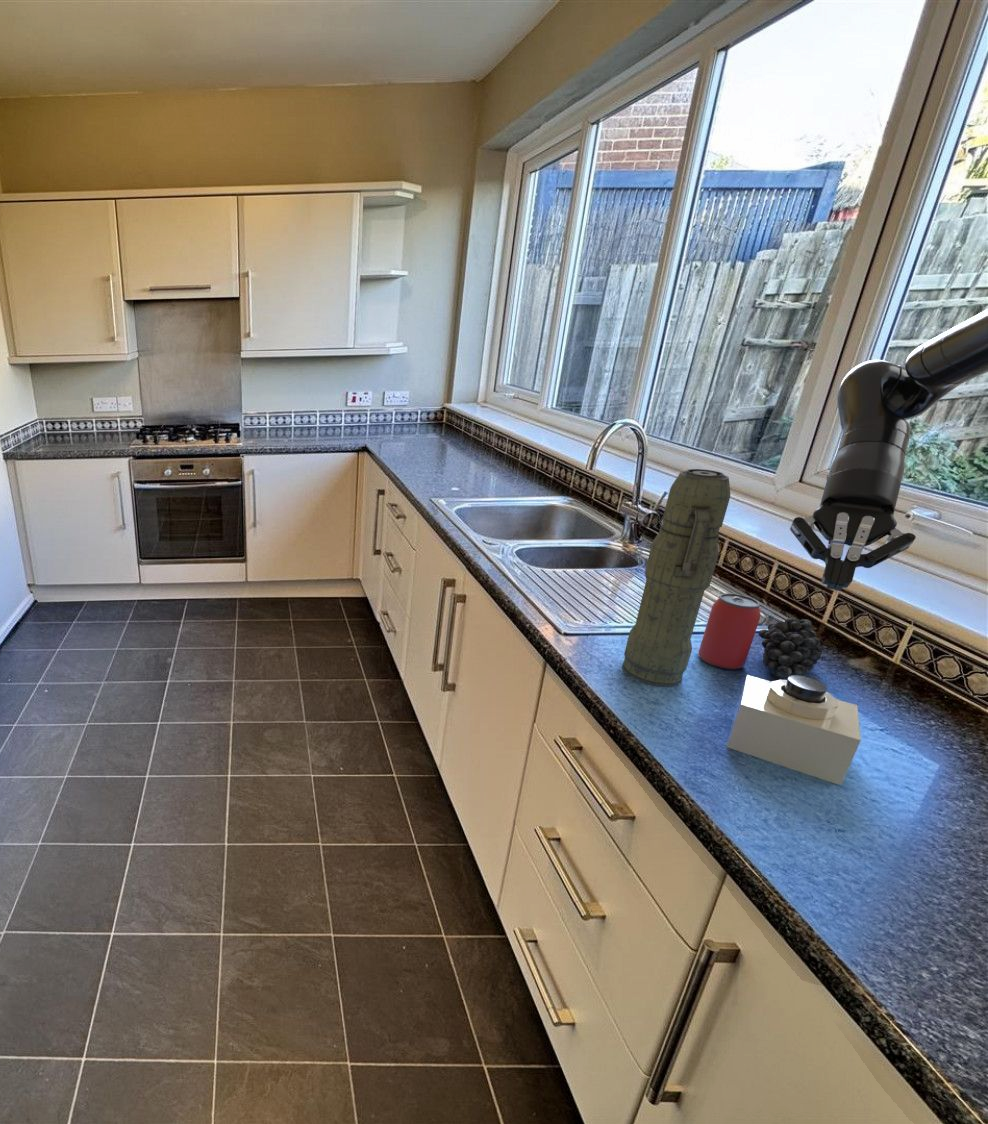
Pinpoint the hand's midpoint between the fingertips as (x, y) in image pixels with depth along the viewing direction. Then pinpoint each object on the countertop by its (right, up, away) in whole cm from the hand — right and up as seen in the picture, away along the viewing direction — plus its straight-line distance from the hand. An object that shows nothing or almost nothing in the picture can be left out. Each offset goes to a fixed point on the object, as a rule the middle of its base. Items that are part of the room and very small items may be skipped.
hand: (835, 587), depth 84 cm
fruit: (+12, -15, +22) cm, 30 cm away
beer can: (+4, -14, +25) cm, 29 cm away
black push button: (-4, -15, 0) cm, 16 cm away
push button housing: (-4, -23, +3) cm, 23 cm away
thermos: (-10, -16, +22) cm, 29 cm away
